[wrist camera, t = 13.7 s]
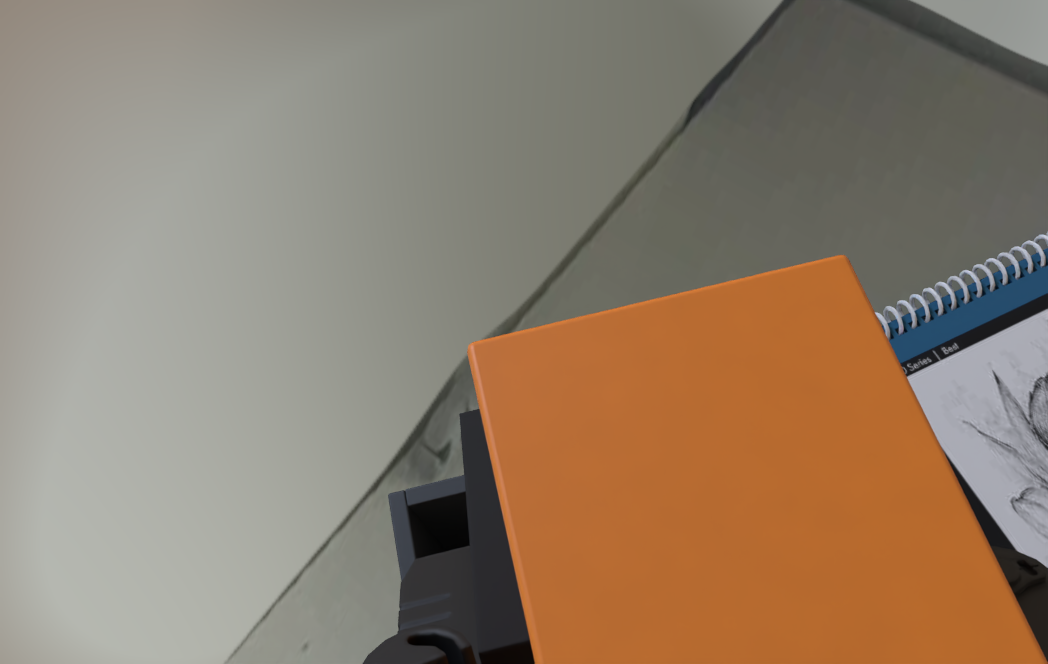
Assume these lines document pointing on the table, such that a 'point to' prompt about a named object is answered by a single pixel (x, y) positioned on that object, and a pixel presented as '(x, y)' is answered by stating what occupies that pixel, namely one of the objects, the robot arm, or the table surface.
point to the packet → (736, 486)
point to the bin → (429, 520)
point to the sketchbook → (987, 390)
